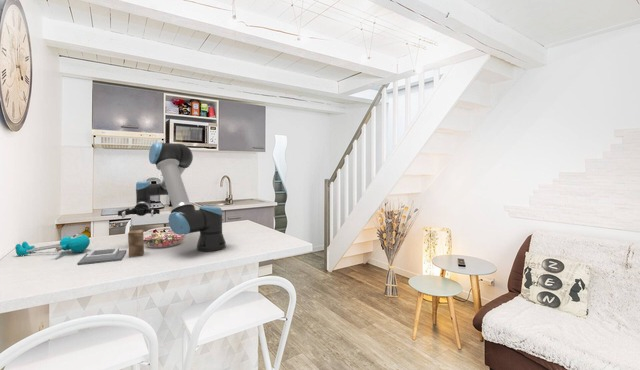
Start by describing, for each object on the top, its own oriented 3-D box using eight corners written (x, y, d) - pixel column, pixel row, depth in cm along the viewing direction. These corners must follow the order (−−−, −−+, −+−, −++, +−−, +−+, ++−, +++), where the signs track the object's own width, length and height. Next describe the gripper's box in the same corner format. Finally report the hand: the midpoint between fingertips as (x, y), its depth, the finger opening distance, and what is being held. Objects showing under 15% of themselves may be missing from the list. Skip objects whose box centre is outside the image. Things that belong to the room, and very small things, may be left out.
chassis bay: (126, 251, 160) (126, 246, 159) (121, 260, 146) (121, 254, 146) (86, 255, 152) (86, 249, 152) (77, 265, 139) (77, 258, 139)
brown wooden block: (144, 252, 159) (143, 229, 158) (142, 255, 154) (142, 232, 153) (130, 253, 157) (129, 230, 156) (128, 257, 151) (128, 233, 150)
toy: (34, 237, 163) (96, 227, 169) (38, 255, 164) (100, 245, 170) (0, 249, 141) (73, 237, 147) (5, 269, 143) (77, 257, 148)
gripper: (165, 213, 189) (163, 220, 169) (117, 216, 178) (110, 223, 159) (164, 201, 188) (163, 207, 169) (116, 203, 177) (109, 209, 158)
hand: (137, 215), depth 164 cm, fingers open, 13 cm apart
